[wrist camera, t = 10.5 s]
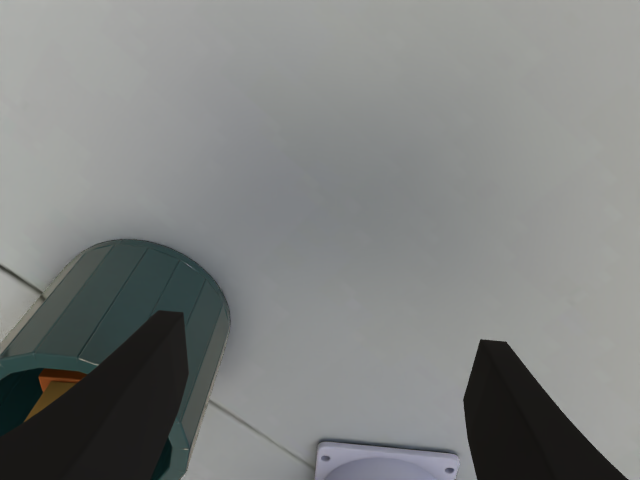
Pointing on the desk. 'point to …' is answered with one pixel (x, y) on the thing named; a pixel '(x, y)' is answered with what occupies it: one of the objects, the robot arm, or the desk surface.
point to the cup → (118, 331)
